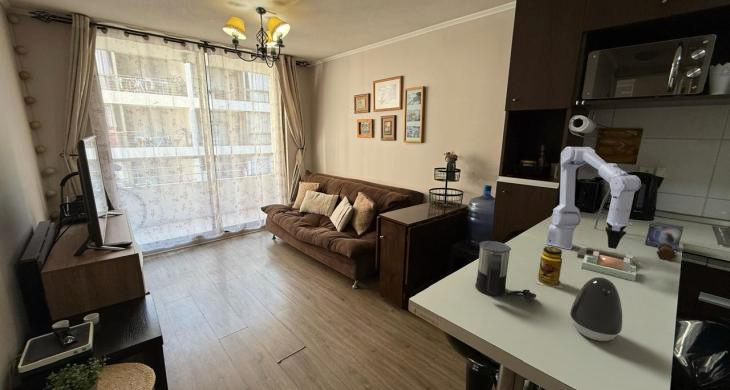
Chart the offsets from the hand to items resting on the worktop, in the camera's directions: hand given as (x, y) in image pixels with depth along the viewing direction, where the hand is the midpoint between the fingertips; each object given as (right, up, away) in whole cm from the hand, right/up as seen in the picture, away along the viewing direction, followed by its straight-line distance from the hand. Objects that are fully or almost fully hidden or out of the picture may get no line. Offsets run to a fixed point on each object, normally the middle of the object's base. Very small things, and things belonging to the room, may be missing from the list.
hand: (612, 245), depth 108 cm
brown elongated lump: (+36, -8, +17) cm, 41 cm away
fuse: (0, -9, +2) cm, 10 cm away
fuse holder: (+7, -8, +12) cm, 15 cm away
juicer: (+34, -1, +43) cm, 55 cm away
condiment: (-28, -11, -7) cm, 31 cm away
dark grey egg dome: (-33, -17, -33) cm, 50 cm away
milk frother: (-47, -13, -15) cm, 51 cm away
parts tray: (0, -10, +2) cm, 10 cm away
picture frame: (+44, -5, +26) cm, 51 cm away
